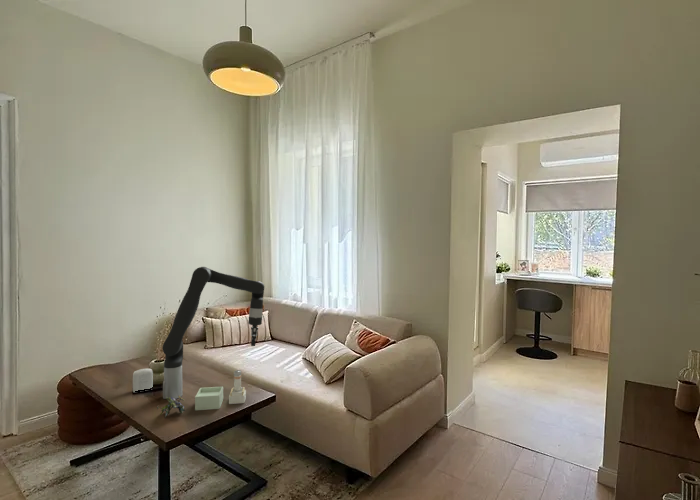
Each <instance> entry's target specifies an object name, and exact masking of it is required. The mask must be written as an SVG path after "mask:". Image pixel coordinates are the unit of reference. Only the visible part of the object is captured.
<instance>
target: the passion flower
mask: <svg viewBox="0 0 700 500" xmlns="http://www.w3.org/2000/svg"><path fill="white" fill-rule="evenodd" d="M178 397H179V398H178V400H177V399H174V398H173V397H171V398H170V397H169V398H166V399H165V400H167V401H168V403H167V404H165V406H162V407H160V405H157V406H156V407H157V409H156V410H159V409H161V411H160V412H161V413H160V416H162V414H163V413H164V412H165V414H164V415H165V416H164V418H166V417H167V416H168V415H169V414H170V411H171V410H172V409H178V412H179V413H180V414H183V412H185V411H186V410H185V409H184V408H185V406H184V405H183V404H182V403H181V401H185V399H184V398H183V396H178Z"/></svg>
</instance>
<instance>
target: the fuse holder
mask: <svg viewBox="0 0 700 500" xmlns="http://www.w3.org/2000/svg"><path fill="white" fill-rule="evenodd" d="M246 398H247V389H246V388H245V386H243V387H242V386H241V392H234V387H232V388H231V389H230V393H229V395H228V404H229V405H233V404H234V405H235V404H236V405H237V404H245V402H246Z"/></svg>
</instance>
